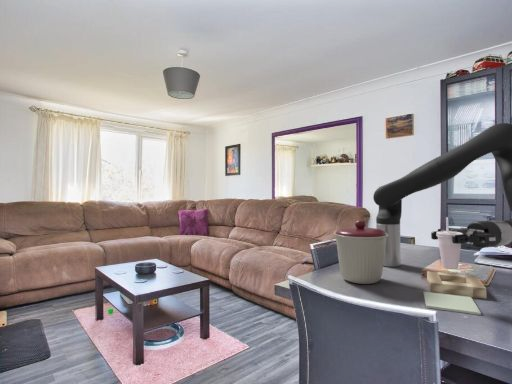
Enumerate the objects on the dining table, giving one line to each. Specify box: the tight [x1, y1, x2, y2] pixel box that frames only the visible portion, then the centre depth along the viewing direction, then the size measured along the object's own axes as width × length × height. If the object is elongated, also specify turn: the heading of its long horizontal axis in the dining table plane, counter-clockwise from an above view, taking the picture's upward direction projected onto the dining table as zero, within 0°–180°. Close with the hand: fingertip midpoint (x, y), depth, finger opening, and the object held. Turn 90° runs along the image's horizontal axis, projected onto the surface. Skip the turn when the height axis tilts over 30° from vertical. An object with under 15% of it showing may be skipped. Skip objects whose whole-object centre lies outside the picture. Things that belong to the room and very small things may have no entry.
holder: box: [426, 270, 487, 300], centre depth 97 cm, size 14×14×3 cm
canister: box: [333, 219, 388, 285], centre depth 107 cm, size 18×18×21 cm
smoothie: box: [436, 216, 463, 270], centre depth 84 cm, size 6×6×14 cm
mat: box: [423, 291, 482, 316], centre depth 85 cm, size 12×12×1 cm
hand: (442, 237), depth 84 cm, fingers closed on smoothie, 6 cm apart
